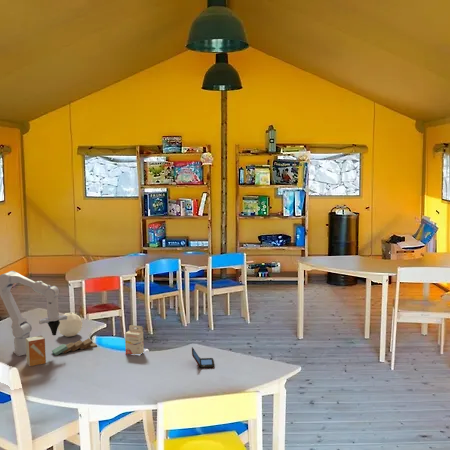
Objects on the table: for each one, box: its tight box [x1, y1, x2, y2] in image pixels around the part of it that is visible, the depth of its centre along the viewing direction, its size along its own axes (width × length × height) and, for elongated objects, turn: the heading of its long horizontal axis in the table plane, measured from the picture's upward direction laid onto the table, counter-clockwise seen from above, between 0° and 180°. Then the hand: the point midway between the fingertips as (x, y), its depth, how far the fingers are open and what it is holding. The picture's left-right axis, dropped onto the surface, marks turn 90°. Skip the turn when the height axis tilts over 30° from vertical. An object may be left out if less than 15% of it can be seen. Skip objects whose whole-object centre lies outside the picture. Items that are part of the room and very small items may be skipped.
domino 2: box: [62, 341, 76, 354], centre depth 302 cm, size 2×5×7 cm
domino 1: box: [51, 343, 68, 357], centre depth 300 cm, size 2×5×7 cm
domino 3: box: [70, 339, 84, 352], centre depth 305 cm, size 2×5×7 cm
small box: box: [25, 335, 47, 367], centre depth 285 cm, size 8×6×13 cm
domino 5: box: [83, 342, 98, 350], centre depth 310 cm, size 2×5×7 cm
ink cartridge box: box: [124, 324, 145, 355], centre depth 296 cm, size 9×5×15 cm, turn 71°
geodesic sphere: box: [57, 311, 83, 338], centre depth 329 cm, size 15×14×14 cm
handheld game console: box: [191, 346, 215, 369], centre depth 280 cm, size 12×11×7 cm
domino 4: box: [79, 338, 94, 351], centre depth 308 cm, size 2×5×7 cm
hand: (54, 334), depth 298 cm, fingers closed
